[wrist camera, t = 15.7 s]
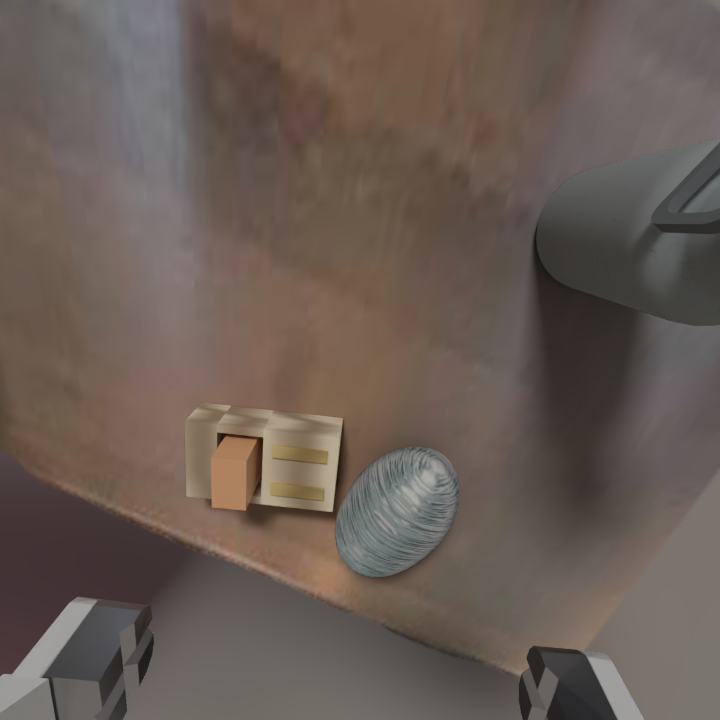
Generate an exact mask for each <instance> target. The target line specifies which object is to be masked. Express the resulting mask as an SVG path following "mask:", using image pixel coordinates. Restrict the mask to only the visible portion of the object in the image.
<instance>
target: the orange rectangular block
mask: <svg viewBox="0 0 720 720" xmlns="http://www.w3.org/2000/svg"><path fill="white" fill-rule="evenodd" d="M262 460H263V437H255V436H246V435H237V434H228V433H227V435H226V436H225V438H224V439H223V441H222V442H221V443H220V445H219V446H218V448H217V449H216V451H215V452H214V454H213V455H212V457H211V490H212V507H213V508H224V509H234V510H244V511H246V509H247V507H248V505H249V502H250V500H251V498H252V495H253V493H254V491H255V489H256V486H257V484H258V482H259V479H260V477H261V475H262Z"/></svg>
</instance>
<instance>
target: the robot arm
mask: <svg viewBox="0 0 720 720" xmlns="http://www.w3.org/2000/svg"><path fill="white" fill-rule="evenodd" d="M151 620H152V610H151V606H145V605H138V604H131V603H123V602H116V601H109V600H101V599H92V598H84V597H77V598H76V599H74V600H73V601H71V602H70V603H69V604H68V605H67V607H66V608H65V609H64V610H63V611H62V613H61V614H60V615H59V616H58V618H57V619H56V620H55V621H54V623H53V624H52V625H51V626H50V628H49V629H48V630H47V631H46V632H45V634H44V635H43V636H42V638H41V639H40V640H39V641H38V642H37V644H36V645H35V646H34V647H33V649H32V650H31V651H30V652H29V654H28V655H27V656H26V657H25V659H24V660H23V661H22V662H21V664H20V665H19V666H18V667H17V669H16V670H15V671H14V672H13V674H3V675H1V676H0V720H123V718H124V716H125V714H126V712H127V704H126V697H127V696H129V695H130V694H131V693H132V692H133V691H135V690H136V689H137V688H138V687H139V686H140V684H141V682H142V680H143V678H144V676H145V674H146V672H147V669H148V666H149V663H150V660H151V657H152V652H153V645H154V636H153V633H152V632H151V631H150V630H149V629H148V625H149V624H150V622H151ZM527 661H528V664H529V667H530V668H528V669H527V670H525V671H524V672H523V673H522V674H521V678H520V681H519V705H520V710H521V715H522V718H523V720H644V719H643V717H642V715H641V713H640V712H639V710H638V708H637V706H636V704H635V703H634V701H633V699H632V697H631V695H630V694H629V692H628V690H627V688H626V686H625V684H624V683H623V681H622V679H621V677H620V676H619V674H618V672H617V670H616V668H615V666H614V665H613V663H612V661H611V659H610V658H609V657H608V656H607V655H606V654H604V653H597V652H588V651H578V650H574V649H563V648H552V647H540V646H533V647H532V648H530V649H529V652H528V655H527Z"/></svg>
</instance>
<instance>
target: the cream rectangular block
mask: <svg viewBox="0 0 720 720" xmlns="http://www.w3.org/2000/svg"><path fill="white" fill-rule="evenodd" d="M342 425H343V418H337V417H328V416H318V415H309V414H300V413H291V412H282V411H273V410H264V409H255V408H246V407H237V406H228V405H219V404H210V403H201V404H200V405H199V406H198V407H197V408H196V409H195V410H194V412H193V413H192V414H191V415H190V416H189V417H188V418H187V419H186V420H185V450H186V491H187V496H189V497H199V498H208V499H212V490H211V457H212V455H213V454H214V452H215V451H216V449H217V448H218V446H219V445H220V443H221V442H222V441H223V439H224V438H225V436H226V435H227V433H228V434H237V435H246V436H255V437H263V460H262V475H261V477H260V479H259V482H258V484H257V486H256V489H255V491H254V493H253V495H252V498H251V500H250V502H249V503H254V504H263V505H272V506H281V507H291V508H300V509H309V510H318V511H327V512H333V505H334V498H335V490H336V482H337V472H338V463H339V453H340V444H341V434H342Z"/></svg>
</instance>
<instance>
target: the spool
mask: <svg viewBox="0 0 720 720" xmlns="http://www.w3.org/2000/svg"><path fill="white" fill-rule="evenodd" d="M458 502H459V481H458V477H457V474H456V471H455V469H454V467H453V465H452V464H451V462H450V461H449V460H448V459H447V458H446V457H445V456H444V455H443V454H441V453H440V452H438V451H436V450H434V449H431V448H428V447H421V446H413V447H405V448H400V449H397V450H394V451H391V452H389V453H387V454H385V455H383V456H381V457H380V458H378V459H377V460H375V461H374V462H373V463H371V464H370V465H369V466H368V467H367V468H366V469H365V470H364V471H363V472H362V473H361V474H360V475H359V477H358V478H357V479H356V480H355V481H354V483H353V485H352V486H351V488H350V489H349V491H348V493H347V494H346V496H345V498H344V500H343V502H342V504H341V506H340V509H339V512H338V514H337V520H336V526H335V540H336V546H337V549H338V552H339V554H340V556H341V558H342V560H343V561H344V562H345V564H346V565H347V566H348V567H349V568H351V569H352V570H354V571H355V572H357V573H359V574H361V575H364V576H368V577H384V576H390V575H394V574H396V573H399V572H401V571H403V570H406V569H408V568H409V567H411V566H413V565H414V564H416V563H417V562H419V561H420V560H422V559H423V558H425V557H426V556H427V555H428V554H429V553H430V552H432V551H433V550H434V549H435V548H436V547H437V546H438V545H439V543H440V542H441V541H442V540H443V538H444V537H445V535H446V534H447V532H448V531H449V529H450V527H451V525H452V523H453V520H454V518H455V515H456V512H457V508H458Z"/></svg>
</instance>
